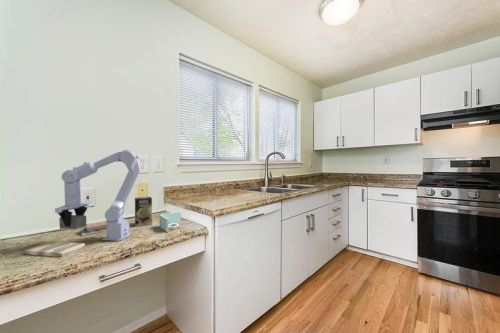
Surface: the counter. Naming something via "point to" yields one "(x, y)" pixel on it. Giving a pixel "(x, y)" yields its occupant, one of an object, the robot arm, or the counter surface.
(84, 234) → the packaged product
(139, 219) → the coffee box
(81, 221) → the block
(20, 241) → the counter surface
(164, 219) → the pale turquoise carton
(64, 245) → the pine board
